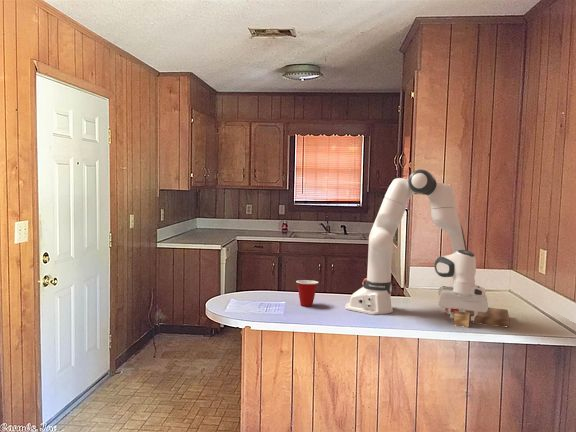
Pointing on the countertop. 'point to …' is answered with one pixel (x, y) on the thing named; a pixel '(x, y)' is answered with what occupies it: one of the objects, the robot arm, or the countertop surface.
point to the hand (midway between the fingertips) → (462, 319)
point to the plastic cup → (306, 292)
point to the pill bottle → (451, 310)
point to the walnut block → (491, 317)
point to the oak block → (461, 319)
